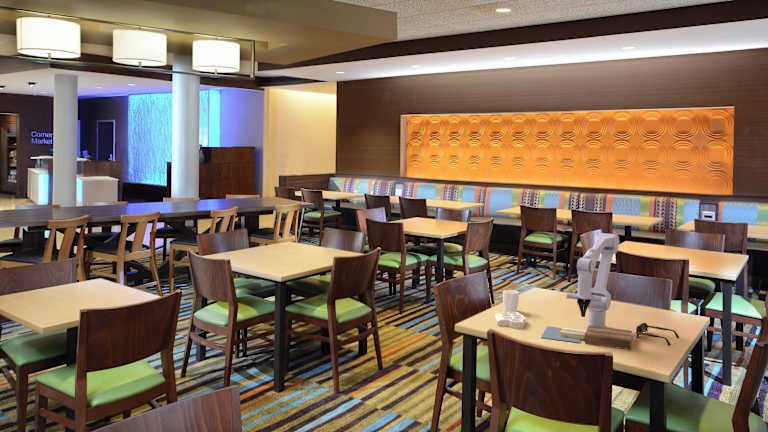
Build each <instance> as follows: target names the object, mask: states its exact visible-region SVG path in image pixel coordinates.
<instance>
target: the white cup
mask: <svg viewBox="0 0 768 432" xmlns="http://www.w3.org/2000/svg"><path fill="white" fill-rule="evenodd" d="M519 294H520V292H519V291H517V290H514V289H504V290H502V310H503V313H507V312H518V305H519Z"/></svg>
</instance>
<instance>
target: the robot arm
mask: <svg viewBox="0 0 768 432" xmlns="http://www.w3.org/2000/svg"><path fill="white" fill-rule="evenodd" d="M593 242H594V243H593V245H592V247H591V248H589V249H587V251H586V252H585V254H584V255H583V256H582V257H580V258H578V259H577V262H576V270H577V273H576V275H577V276H578V278H577V293H566V298H565V299H568V300H569V299H570V300H571V299H572V300H576V302H577V304H578V307H579V310H580V316H581V317H582V318H585V317H586V314H587V313H586V312H587V309H588V322H587V323H588V324H587V326H586V329H587V328H588V325H590V326H598V327H606V328H607V324H606V317H607V316H606V315H607V311H608V310H609V309H610V308H611V302H612V301H611V300H612V295H611V293H610V292H609V291H608V290H607V285H608V280H609V275H610V271H611V265H612V262H613V261H612V260H613V257H614V255H615V254H617V253H618V250H619V245H620V236H619V235H618V234H616V233H615V234H614V233H605V232H598V231H597V232H596V233H595V234H594V237H593ZM599 258H600V259H599ZM598 260H599V263H598V264H599V265H598V269H597V275H596V280H595V284H594V287H593V272H594V271H595V269H596V266H597V262H598Z"/></svg>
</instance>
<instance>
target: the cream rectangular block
mask: <svg viewBox="0 0 768 432" xmlns="http://www.w3.org/2000/svg"><path fill="white" fill-rule="evenodd" d="M561 328H562V330H561V334H560V336H563V337H570V338H578V339H581V340H585V335H586V331H587V329H577V328H570V327H561Z"/></svg>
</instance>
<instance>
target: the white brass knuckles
mask: <svg viewBox="0 0 768 432" xmlns="http://www.w3.org/2000/svg"><path fill="white" fill-rule="evenodd" d="M494 319H495V322H496V324H497V325H498V326H500V325H502V326H501V327H510V328H512V329H519V330H520V329H523V328H524V326H525V325H526V324H528V323H529V321H527V318H526V317H525V315H524V314H521V313H520V312H518V311H517V312H497V313H495V314H494Z"/></svg>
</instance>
